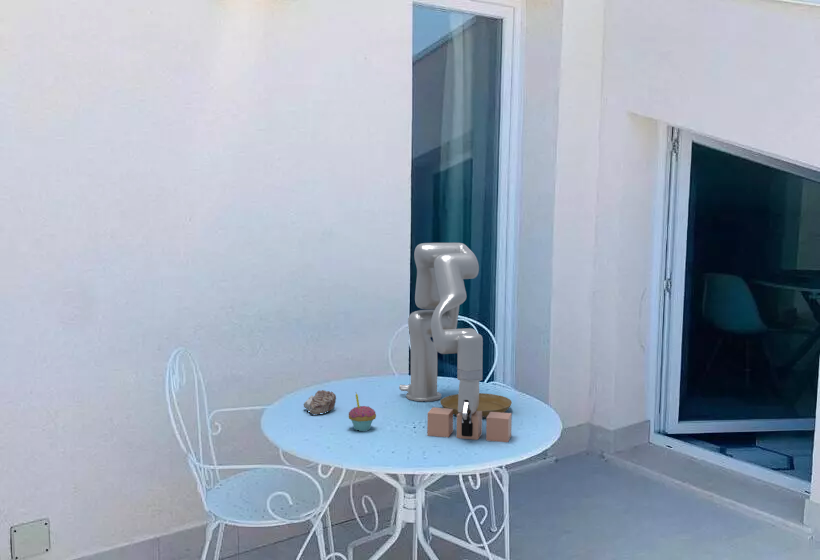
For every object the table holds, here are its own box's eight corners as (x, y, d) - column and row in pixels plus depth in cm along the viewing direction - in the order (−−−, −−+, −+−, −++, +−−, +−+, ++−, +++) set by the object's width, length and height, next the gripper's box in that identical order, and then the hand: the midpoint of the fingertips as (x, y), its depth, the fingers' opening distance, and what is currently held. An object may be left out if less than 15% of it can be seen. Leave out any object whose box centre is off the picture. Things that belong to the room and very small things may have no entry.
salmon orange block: (486, 440, 234) (486, 417, 233) (490, 434, 240) (490, 411, 240) (508, 442, 232) (508, 419, 232) (511, 435, 239) (511, 413, 238)
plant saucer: (430, 404, 275) (430, 395, 275) (492, 398, 283) (493, 389, 282) (456, 423, 252) (456, 413, 252) (524, 416, 260) (524, 406, 260)
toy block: (456, 437, 236) (456, 415, 236) (461, 431, 243) (461, 409, 242) (477, 439, 235) (478, 416, 234) (481, 433, 241) (482, 411, 240)
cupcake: (355, 434, 240) (354, 395, 239) (344, 427, 247) (343, 389, 246) (380, 430, 244) (380, 392, 243) (369, 423, 251) (368, 386, 250)
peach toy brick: (427, 435, 239) (427, 412, 238) (432, 429, 245) (432, 407, 244) (448, 437, 237) (448, 414, 236) (453, 431, 243) (453, 408, 243)
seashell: (306, 396, 274) (320, 374, 271) (330, 410, 275) (344, 387, 272) (297, 415, 260) (312, 392, 258) (322, 429, 261) (337, 406, 258)
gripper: (463, 367, 246) (462, 423, 248) (451, 380, 229) (451, 439, 231) (487, 368, 244) (486, 425, 246) (476, 381, 227) (476, 442, 229)
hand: (469, 431), depth 239 cm, fingers closed on toy block, 6 cm apart
